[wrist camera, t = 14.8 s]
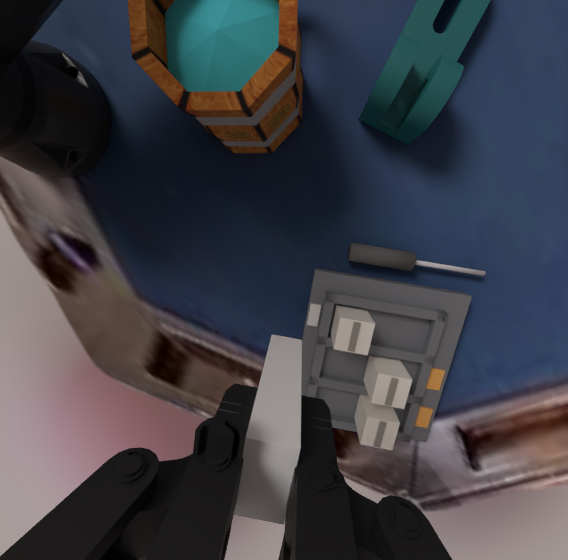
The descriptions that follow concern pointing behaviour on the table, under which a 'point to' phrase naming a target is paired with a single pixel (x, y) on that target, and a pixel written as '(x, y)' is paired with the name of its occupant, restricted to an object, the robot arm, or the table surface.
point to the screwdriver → (396, 259)
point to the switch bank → (382, 344)
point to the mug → (225, 65)
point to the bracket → (421, 70)
